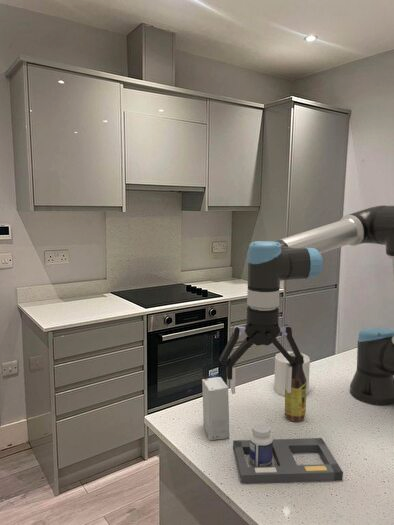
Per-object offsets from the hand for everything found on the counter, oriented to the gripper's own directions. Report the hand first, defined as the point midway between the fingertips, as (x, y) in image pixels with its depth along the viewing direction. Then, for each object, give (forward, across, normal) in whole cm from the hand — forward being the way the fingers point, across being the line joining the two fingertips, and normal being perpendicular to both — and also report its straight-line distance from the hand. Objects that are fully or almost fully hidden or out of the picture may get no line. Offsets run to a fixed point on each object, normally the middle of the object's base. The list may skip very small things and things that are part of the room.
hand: (260, 391), depth 99 cm
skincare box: (+19, +10, -14) cm, 26 cm away
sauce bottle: (+19, -15, -22) cm, 33 cm away
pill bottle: (+19, 0, +1) cm, 19 cm away
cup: (+19, -19, -40) cm, 48 cm away
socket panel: (+19, -6, 0) cm, 20 cm away
